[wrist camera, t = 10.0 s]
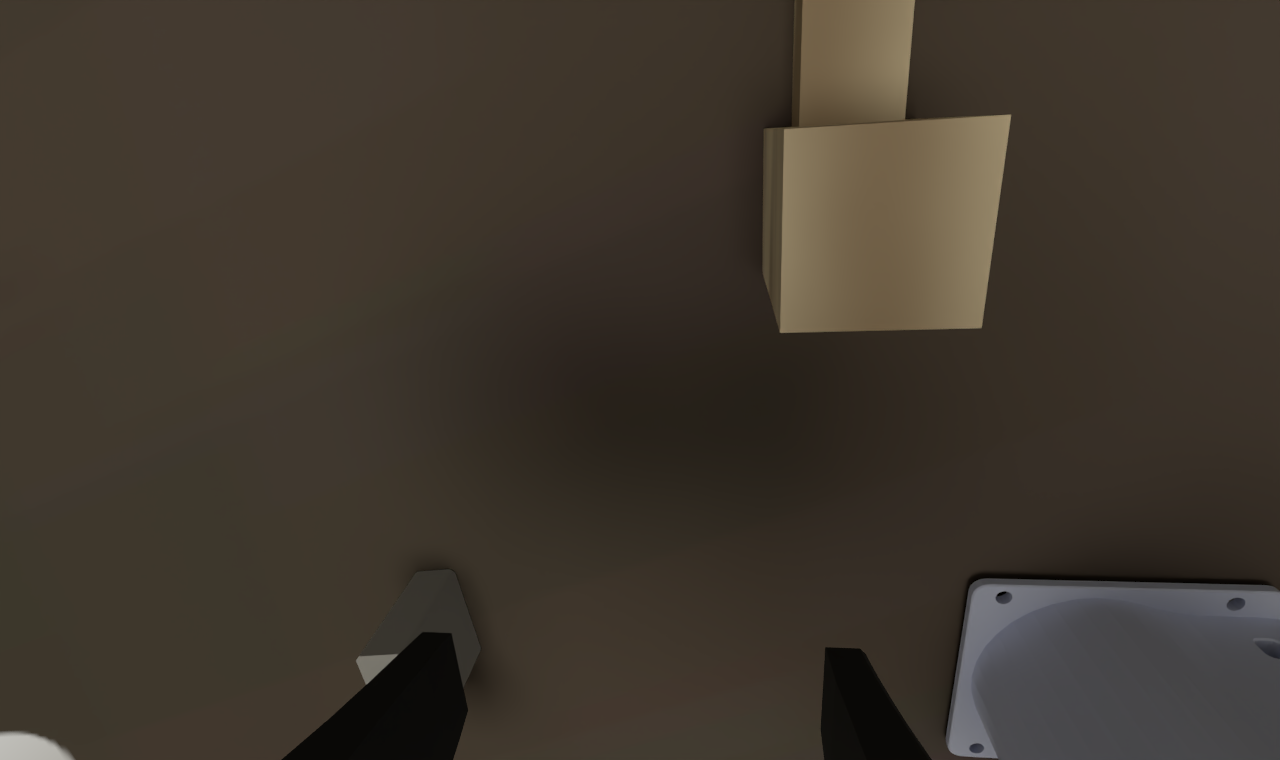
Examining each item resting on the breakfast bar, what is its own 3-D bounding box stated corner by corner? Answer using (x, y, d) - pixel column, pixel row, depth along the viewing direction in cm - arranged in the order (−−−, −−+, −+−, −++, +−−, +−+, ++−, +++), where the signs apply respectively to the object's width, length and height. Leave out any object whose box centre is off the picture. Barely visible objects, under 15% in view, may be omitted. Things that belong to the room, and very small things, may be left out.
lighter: (412, 572, 25) (281, 761, 17) (453, 568, 24) (338, 759, 17) (462, 708, 27) (366, 925, 20) (500, 706, 27) (418, 926, 19)
